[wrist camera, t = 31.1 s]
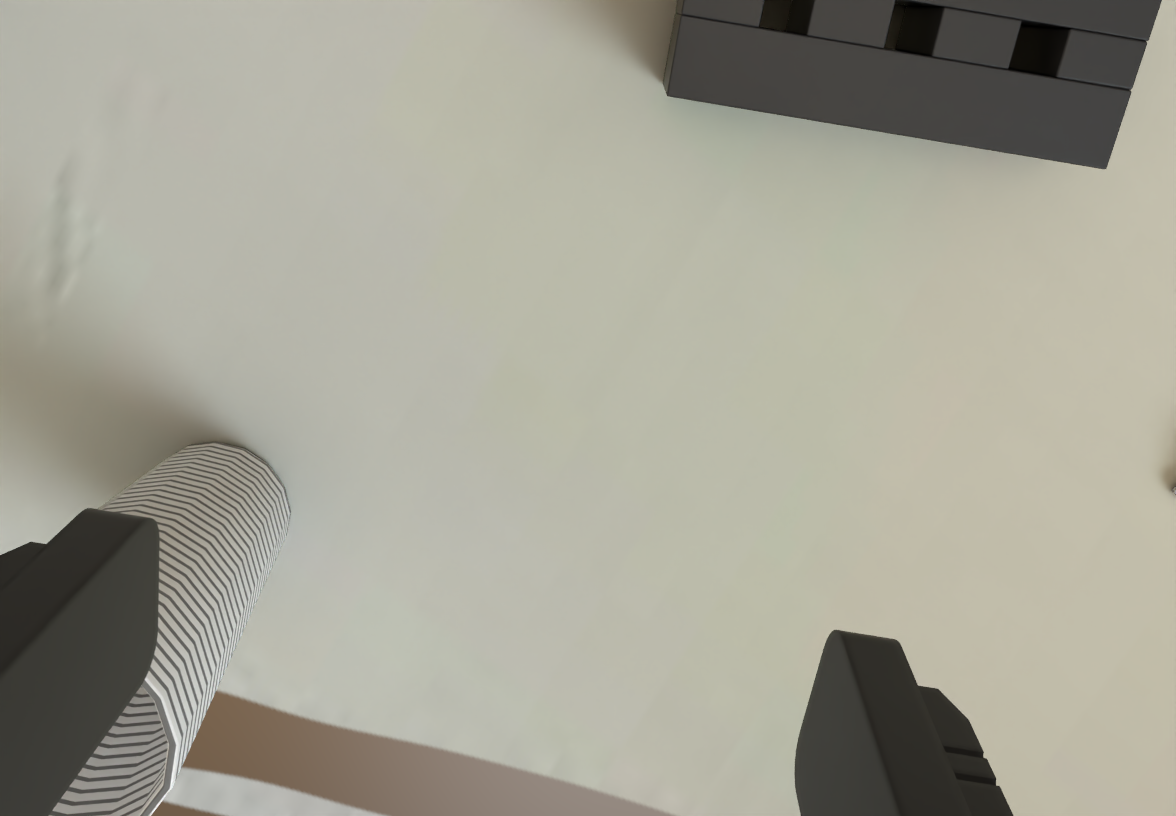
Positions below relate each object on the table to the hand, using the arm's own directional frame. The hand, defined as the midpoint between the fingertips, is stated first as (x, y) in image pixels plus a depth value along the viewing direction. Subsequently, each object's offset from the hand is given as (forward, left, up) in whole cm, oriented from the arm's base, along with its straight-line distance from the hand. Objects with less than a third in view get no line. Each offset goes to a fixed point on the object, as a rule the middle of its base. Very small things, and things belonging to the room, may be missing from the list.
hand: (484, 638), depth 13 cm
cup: (-20, -5, -30) cm, 36 cm away
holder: (+12, +1, -30) cm, 32 cm away
